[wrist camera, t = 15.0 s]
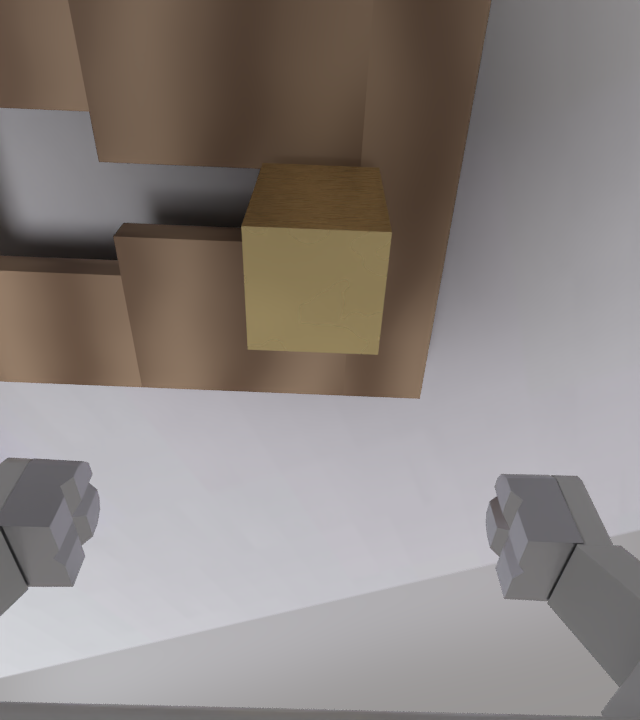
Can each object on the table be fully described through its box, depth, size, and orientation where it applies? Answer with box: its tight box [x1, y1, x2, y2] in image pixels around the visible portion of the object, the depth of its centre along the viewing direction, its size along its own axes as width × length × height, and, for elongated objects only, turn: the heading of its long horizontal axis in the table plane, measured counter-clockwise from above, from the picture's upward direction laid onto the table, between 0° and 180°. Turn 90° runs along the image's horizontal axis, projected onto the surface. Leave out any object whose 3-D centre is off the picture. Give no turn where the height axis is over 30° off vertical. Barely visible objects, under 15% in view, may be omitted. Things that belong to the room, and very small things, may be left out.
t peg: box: [241, 163, 392, 355], centre depth 23 cm, size 5×5×12 cm
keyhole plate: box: [0, 0, 491, 399], centre depth 26 cm, size 24×20×4 cm
